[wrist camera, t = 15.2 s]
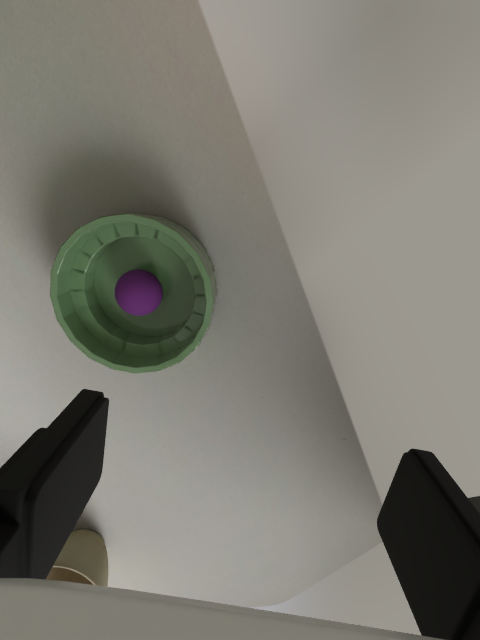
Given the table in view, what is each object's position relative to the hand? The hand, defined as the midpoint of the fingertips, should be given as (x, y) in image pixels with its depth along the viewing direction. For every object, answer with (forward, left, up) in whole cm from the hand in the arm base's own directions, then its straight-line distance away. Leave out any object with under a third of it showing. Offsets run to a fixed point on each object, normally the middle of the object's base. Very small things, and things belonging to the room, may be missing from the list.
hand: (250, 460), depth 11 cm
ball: (+10, +2, -26) cm, 28 cm away
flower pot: (+14, +38, -26) cm, 48 cm away
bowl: (+10, +2, -26) cm, 28 cm away
